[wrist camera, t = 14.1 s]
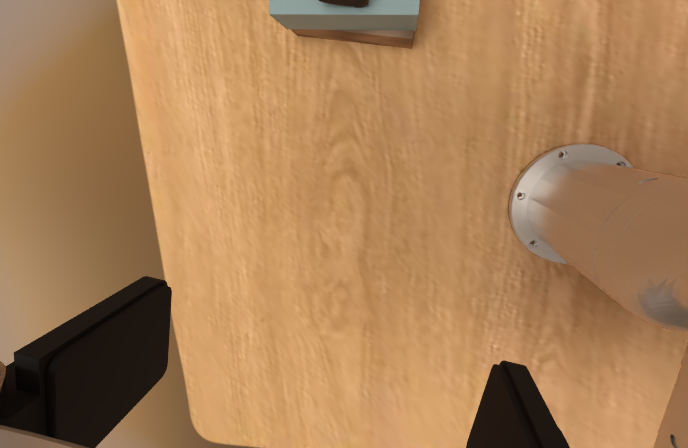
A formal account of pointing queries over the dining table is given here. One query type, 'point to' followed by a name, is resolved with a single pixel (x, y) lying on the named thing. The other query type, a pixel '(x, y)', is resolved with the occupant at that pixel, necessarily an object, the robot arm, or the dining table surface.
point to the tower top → (346, 15)
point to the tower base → (363, 36)
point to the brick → (348, 2)
